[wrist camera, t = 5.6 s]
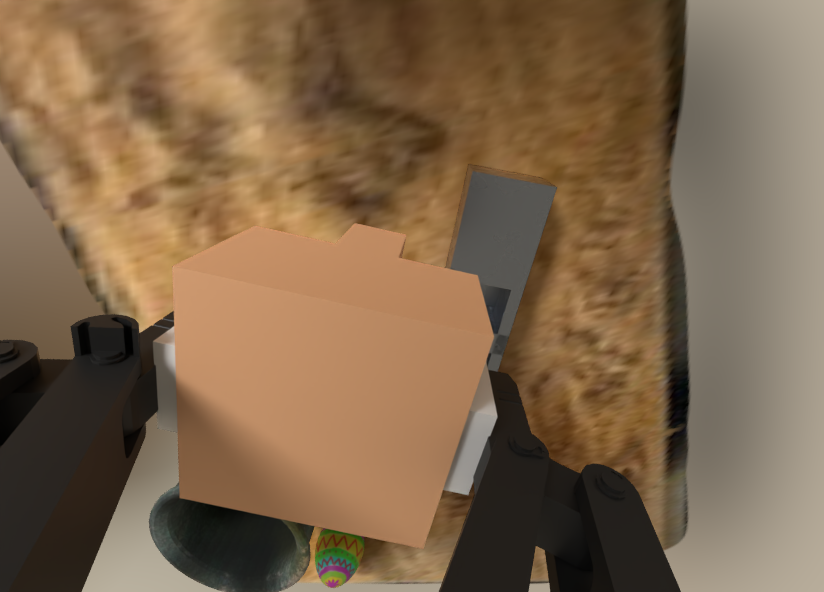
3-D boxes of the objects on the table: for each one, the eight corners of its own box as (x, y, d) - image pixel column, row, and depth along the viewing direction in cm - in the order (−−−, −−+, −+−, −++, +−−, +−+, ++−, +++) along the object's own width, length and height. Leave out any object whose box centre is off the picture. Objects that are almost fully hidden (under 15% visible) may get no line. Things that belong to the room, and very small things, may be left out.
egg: (339, 503, 41) (323, 562, 36) (376, 525, 42) (366, 585, 37) (314, 526, 43) (296, 585, 38) (350, 546, 44) (337, 607, 39)
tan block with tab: (429, 396, 18) (423, 548, 11) (276, 363, 17) (179, 497, 11) (470, 249, 15) (494, 336, 8) (289, 208, 15) (172, 265, 8)
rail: (468, 164, 26) (472, 171, 23) (541, 177, 26) (557, 187, 23) (412, 414, 36) (409, 447, 32) (466, 424, 36) (469, 459, 32)
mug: (334, 366, 34) (282, 482, 23) (365, 485, 40) (336, 623, 29) (218, 375, 35) (118, 489, 24) (265, 489, 41) (201, 623, 30)
